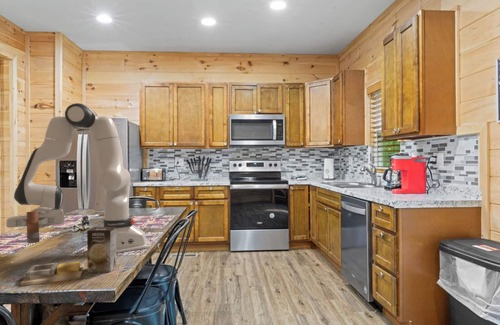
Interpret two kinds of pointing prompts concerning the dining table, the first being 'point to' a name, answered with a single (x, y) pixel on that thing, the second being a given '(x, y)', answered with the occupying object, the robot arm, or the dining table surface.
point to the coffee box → (101, 249)
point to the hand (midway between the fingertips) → (32, 223)
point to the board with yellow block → (52, 273)
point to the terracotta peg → (32, 227)
